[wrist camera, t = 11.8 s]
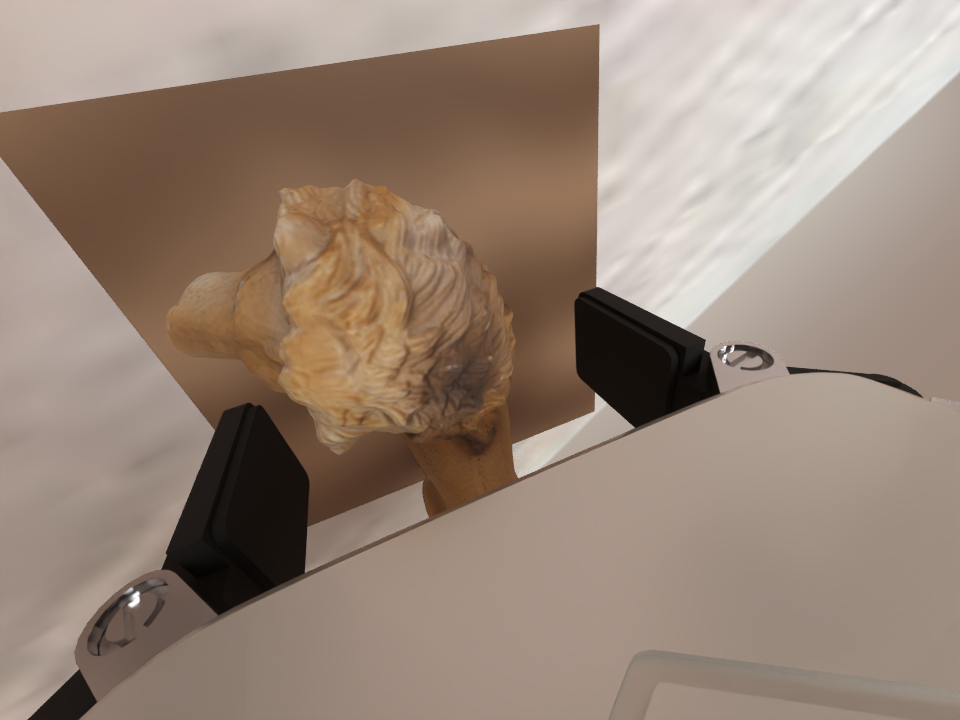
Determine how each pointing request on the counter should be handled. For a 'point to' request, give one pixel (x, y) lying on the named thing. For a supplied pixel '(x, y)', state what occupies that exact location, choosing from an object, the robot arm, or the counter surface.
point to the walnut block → (335, 163)
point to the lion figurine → (371, 332)
